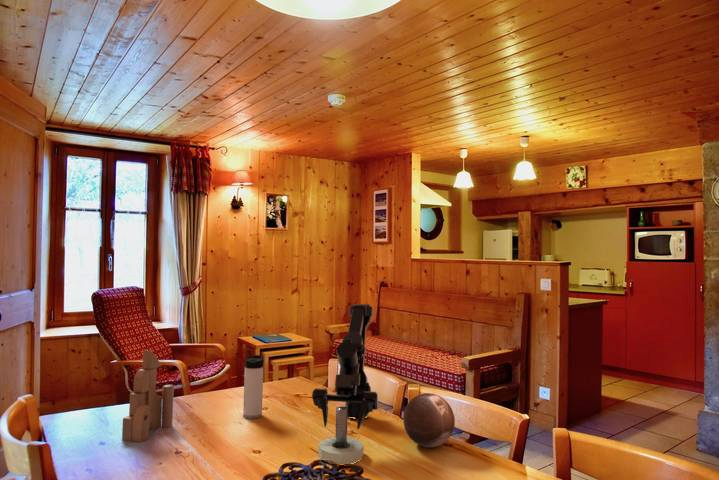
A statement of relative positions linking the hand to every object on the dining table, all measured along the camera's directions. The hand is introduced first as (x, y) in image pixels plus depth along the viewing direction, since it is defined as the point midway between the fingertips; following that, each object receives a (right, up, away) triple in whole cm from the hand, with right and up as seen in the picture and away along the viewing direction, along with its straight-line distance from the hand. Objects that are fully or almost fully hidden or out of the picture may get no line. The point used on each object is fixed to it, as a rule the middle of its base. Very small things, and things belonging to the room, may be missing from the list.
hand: (341, 427), depth 134 cm
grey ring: (0, -8, 0) cm, 8 cm away
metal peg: (0, -8, 0) cm, 8 cm away
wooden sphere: (+25, -9, +9) cm, 28 cm away
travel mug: (-31, -8, +31) cm, 45 cm away
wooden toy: (-59, -7, +14) cm, 61 cm away
